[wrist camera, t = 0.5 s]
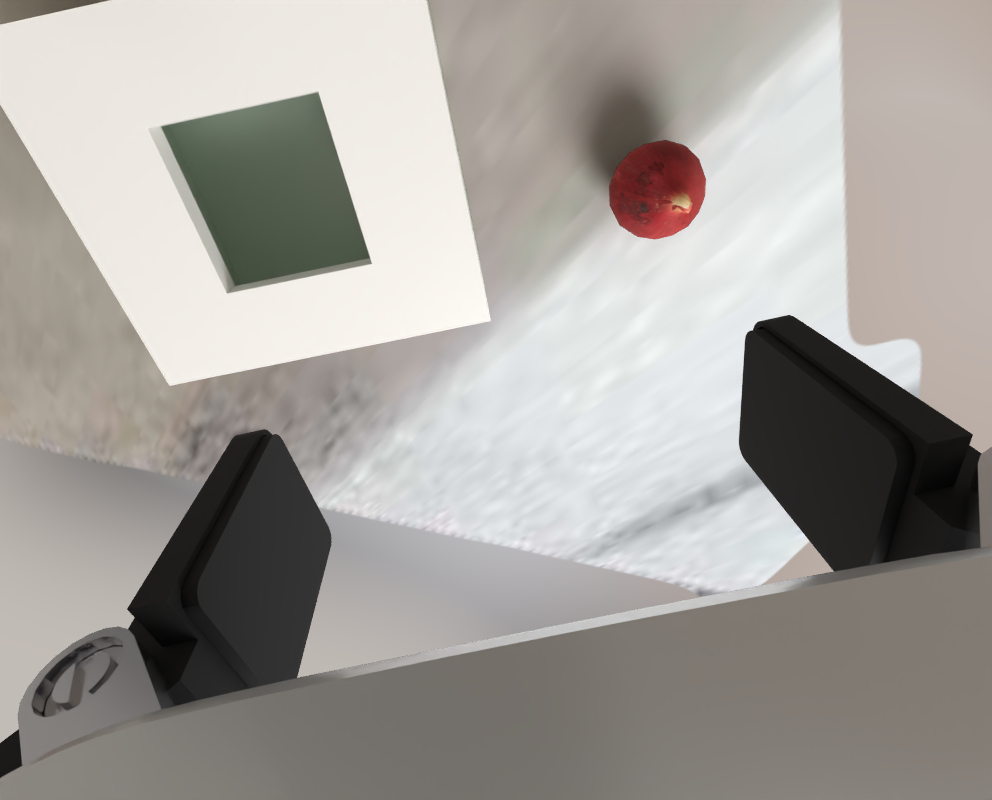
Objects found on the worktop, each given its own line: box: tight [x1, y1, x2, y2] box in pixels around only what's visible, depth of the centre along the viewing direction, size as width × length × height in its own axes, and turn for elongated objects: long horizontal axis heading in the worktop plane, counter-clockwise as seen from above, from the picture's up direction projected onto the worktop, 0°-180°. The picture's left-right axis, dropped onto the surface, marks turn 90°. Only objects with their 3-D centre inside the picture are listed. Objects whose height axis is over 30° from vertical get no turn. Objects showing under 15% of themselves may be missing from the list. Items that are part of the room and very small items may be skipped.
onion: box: [609, 140, 706, 239], centre depth 33 cm, size 6×6×8 cm
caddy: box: [0, 0, 491, 386], centre depth 29 cm, size 16×18×12 cm
